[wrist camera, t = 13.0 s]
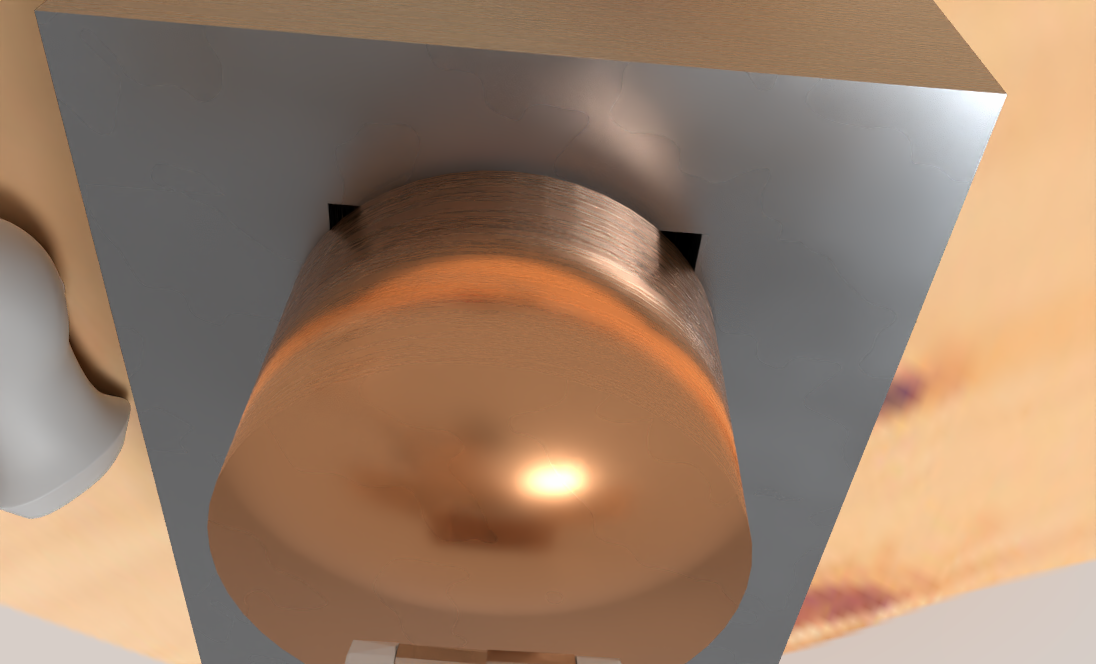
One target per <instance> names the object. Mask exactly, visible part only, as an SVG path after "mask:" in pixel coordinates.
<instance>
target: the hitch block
mask: <svg viewBox="0 0 1096 664" xmlns="http://www.w3.org/2000/svg"><path fill="white" fill-rule="evenodd" d="M34 11H35V15H36V19H37V23H38V27H39V31H40V34H41V38H42V42H43V46H44V50H45V54H46V58H47V62H48V66H49V70H50V73H51V77H52V81H53V85H54V89H55V93H56V97H57V101H58V105H59V109H60V112H61V116H62V120H63V124H64V128H65V132H66V136H67V140H68V144H69V148H70V152H71V155H72V159H73V163H74V167H75V171H76V175H77V179H78V183H79V187H80V191H81V194H82V198H83V202H84V206H85V210H86V214H87V218H88V222H89V226H90V230H91V233H92V237H93V241H94V245H95V249H96V253H97V257H98V261H99V265H100V269H101V273H102V276H103V280H104V284H105V288H106V292H107V296H108V300H109V304H110V308H111V312H112V315H113V319H114V323H115V327H116V331H117V335H118V339H119V343H120V347H121V351H122V354H123V358H124V362H125V366H126V370H127V374H128V378H129V382H130V386H131V390H132V393H133V397H134V401H135V405H136V409H137V413H138V417H139V421H140V425H141V429H142V433H143V436H144V440H145V444H146V448H147V452H148V456H149V460H150V464H151V468H152V472H153V475H154V479H155V483H156V487H157V491H158V495H159V499H160V503H161V507H162V511H163V514H164V518H165V522H166V526H167V530H168V534H169V538H170V542H171V546H172V550H173V553H174V557H175V561H176V565H177V569H178V573H179V577H180V581H181V585H182V589H183V593H184V596H185V600H186V604H187V608H188V612H189V616H190V620H191V624H192V628H193V632H194V635H195V639H196V643H197V647H198V651H199V655H200V659H201V663H202V664H305V663H303V662H301V661H300V660H298V659H297V658H295V657H294V656H292V655H291V654H289V653H288V652H286V651H285V650H283V649H282V648H280V647H279V646H278V645H277V644H275V643H274V642H273V641H272V640H270V639H269V638H268V637H267V636H265V635H264V634H263V633H262V632H261V631H260V630H259V629H258V628H257V627H256V626H255V625H254V624H253V623H252V622H251V621H250V620H249V619H248V618H247V617H246V616H245V615H244V614H243V613H242V611H241V610H240V609H239V607H238V606H237V605H236V603H235V602H234V601H233V599H232V598H231V597H230V595H229V594H228V592H227V590H226V588H225V587H224V585H223V583H222V581H221V579H220V577H219V575H218V573H217V571H216V568H215V565H214V561H213V558H212V555H211V552H210V547H209V538H208V530H207V524H208V513H209V504H210V500H211V497H212V494H213V491H214V488H215V484H216V481H217V479H218V476H219V474H220V471H221V469H222V466H223V463H224V461H225V458H226V456H227V453H228V451H229V448H230V446H231V443H232V441H233V438H234V436H235V433H236V431H237V428H238V425H239V423H240V420H241V418H242V415H243V413H244V410H245V408H246V405H247V403H248V400H249V398H250V395H251V393H252V390H253V387H254V385H255V382H256V380H257V377H258V375H259V372H260V370H261V367H262V365H263V362H264V360H265V357H266V354H267V352H268V349H269V347H270V344H271V342H272V339H273V337H274V334H275V332H276V329H277V327H278V324H279V322H280V319H281V316H282V314H283V311H284V309H285V306H286V304H287V301H288V299H289V296H290V294H291V291H292V289H293V286H294V284H295V281H296V278H297V276H298V274H299V272H300V271H301V269H302V267H303V265H304V263H305V261H306V259H307V257H308V256H309V254H310V253H311V252H312V251H313V249H314V248H315V247H316V245H317V244H318V243H319V241H320V240H321V239H322V238H323V236H324V235H325V234H326V233H328V232H329V231H330V230H331V229H332V228H333V227H334V226H335V225H336V224H337V223H338V222H339V221H340V220H341V219H342V218H344V217H345V216H347V215H348V214H350V213H351V212H352V211H354V210H355V209H357V208H358V207H360V206H361V205H362V204H364V203H366V202H368V201H370V200H372V199H373V198H375V197H377V196H379V195H381V194H383V193H385V192H387V191H389V190H392V189H394V188H397V187H400V186H403V185H406V184H409V183H412V182H414V181H417V180H421V179H426V178H430V177H435V176H440V175H444V174H449V173H459V172H470V171H515V172H522V173H529V174H536V175H543V176H548V177H552V178H556V179H559V180H563V181H567V182H571V183H575V184H578V185H580V186H583V187H585V188H588V189H590V190H593V191H596V192H598V193H601V194H603V195H606V196H607V197H609V198H611V199H613V200H615V201H617V202H618V203H620V204H622V205H624V206H626V207H628V208H630V209H631V210H633V211H634V212H636V213H637V214H638V215H640V216H641V217H643V218H644V219H645V220H647V221H648V222H649V223H651V224H652V225H654V226H655V227H656V228H657V229H658V230H659V231H660V232H661V233H662V234H663V235H665V236H666V237H667V238H668V239H669V240H670V241H671V242H672V243H673V244H674V245H675V246H676V247H677V249H678V250H679V251H680V252H681V254H682V255H683V256H684V258H685V259H686V260H687V261H688V263H689V264H690V265H691V267H692V268H693V270H694V272H695V274H696V275H697V277H698V279H699V281H700V282H701V284H702V286H703V288H704V291H705V293H706V296H707V299H708V301H709V304H710V307H711V310H712V315H713V320H714V325H715V331H716V336H717V342H718V348H719V354H720V360H721V365H722V371H723V377H724V383H725V389H726V394H727V400H728V406H729V412H730V418H731V424H732V429H733V435H734V441H735V447H736V453H737V458H738V464H739V470H740V476H741V482H742V488H743V493H744V499H745V505H746V511H747V517H748V523H749V528H750V534H751V540H752V567H751V572H750V576H749V580H748V585H747V589H746V591H745V593H744V595H743V598H742V600H741V602H740V604H739V607H738V609H737V610H736V612H735V613H734V615H733V616H732V618H731V619H730V621H729V622H728V624H727V625H726V627H725V628H724V629H723V630H722V631H721V632H720V634H719V635H718V636H717V637H716V638H715V639H714V640H713V641H712V642H711V643H710V644H709V645H708V646H707V647H706V648H705V649H703V650H702V651H701V652H700V653H698V654H697V655H696V656H695V657H693V658H692V659H691V660H690V661H688V662H687V663H685V664H779V661H780V659H781V656H782V654H783V651H784V649H785V646H786V644H787V641H788V639H789V636H790V634H791V631H792V629H793V626H794V624H795V621H796V619H797V616H798V614H799V611H800V609H801V607H802V604H803V602H804V599H805V597H806V594H807V592H808V589H809V587H810V584H811V582H812V579H813V577H814V574H815V572H816V569H817V567H818V564H819V562H820V559H821V557H822V554H823V552H824V549H825V547H826V544H827V542H828V539H829V537H830V534H831V532H832V529H833V527H834V524H835V522H836V519H837V517H838V514H839V512H840V509H841V507H842V504H843V502H844V499H845V497H846V494H847V492H848V489H849V487H850V484H851V482H852V479H853V477H854V474H855V472H856V469H857V467H858V465H859V462H860V460H861V457H862V455H863V452H864V450H865V447H866V445H867V442H868V440H869V437H870V435H871V432H872V430H873V427H874V425H875V422H876V420H877V417H878V415H879V412H880V410H881V407H882V405H883V402H884V400H885V397H886V395H887V392H888V390H889V387H890V385H891V382H892V380H893V377H894V375H895V372H896V370H897V367H898V365H899V362H900V360H901V357H902V355H903V352H904V350H905V347H906V345H907V342H908V340H909V337H910V335H911V332H912V330H913V327H914V325H915V323H916V320H917V318H918V315H919V313H920V310H921V308H922V305H923V303H924V300H925V298H926V295H927V293H928V290H929V288H930V285H931V283H932V280H933V278H934V275H935V273H936V270H937V268H938V265H939V263H940V260H941V258H942V255H943V253H944V250H945V248H946V245H947V243H948V240H949V238H950V235H951V233H952V230H953V228H954V225H955V223H956V220H957V218H958V215H959V213H960V210H961V208H962V205H963V203H964V200H965V198H966V195H967V193H968V190H969V188H970V186H971V183H972V181H973V178H974V176H975V173H976V171H977V168H978V166H979V163H980V161H981V158H982V156H983V153H984V151H985V148H986V146H987V143H988V141H989V138H990V136H991V133H992V131H993V128H994V126H995V123H996V121H997V118H998V116H999V113H1000V111H1001V108H1002V106H1003V103H1004V101H1005V98H1006V96H1007V94H1006V92H1005V91H1004V90H1003V88H1002V87H1001V86H1000V85H999V83H998V82H997V81H996V80H995V78H994V77H993V76H992V74H991V73H990V72H989V71H988V69H987V68H986V67H985V66H984V64H983V63H982V62H981V60H980V59H979V58H978V57H977V55H976V54H975V53H974V52H973V50H972V49H971V48H970V47H969V45H968V44H967V43H966V41H965V40H964V39H963V38H962V36H961V35H960V34H959V33H958V31H957V30H956V29H955V27H954V26H953V25H952V24H951V22H950V21H949V20H948V19H947V17H946V16H945V15H944V13H943V12H942V11H941V10H940V8H939V7H938V6H937V5H936V3H935V2H934V1H933V0H46V1H45V2H44V3H43V4H41V5H40V6H39V7H38V8H37V9H35V10H34Z"/></svg>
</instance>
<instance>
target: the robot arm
mask: <svg viewBox="0 0 1096 664" xmlns="http://www.w3.org/2000/svg"><path fill="white" fill-rule="evenodd" d="M345 664H621V661H620V658H607V657H591V656H576V657H575V655H574V654H558V653H540V652H522V651H504V650H478V649H464V648H451V647H438V646H424V645H411V644H400V643H397V642H381V641H365V640H353V641H352V644H351V646H350V648H349V651H348V653H347V656H346V660H345Z"/></svg>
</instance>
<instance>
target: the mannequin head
mask: <svg viewBox="0 0 1096 664" xmlns="http://www.w3.org/2000/svg"><path fill="white" fill-rule="evenodd" d="M64 293H65V287H64V283H63V281H62V279H61V278H60V276H59V274H58V271H57V269H56V267H55V265H54V263H53V261H52V260H51V258H50V256H49V255H48V253H47V252H46V251H45V250H44V248H43V247H42V246H41V245H40V244H39V243H38V242H37V241H36V240H35V239H34V238H33V237H32V236H31V235H29V234H28V233H27V232H25V231H24V230H22V229H21V228H19V227H18V226H16V225H14V224H12V223H10V222H8V221H6V220H4V219H1V218H0V510H3V511H6V512H9V513H13V514H16V515H19V516H22V517H25V518H29V519H34V518H39V517H43V516H45V515H48V514H50V513H52V512H54V511H56V510H58V509H60V508H61V507H63V506H64V505H66V504H67V503H69V502H70V501H72V500H73V499H75V498H76V497H78V496H79V495H80V494H82V493H83V492H85V491H86V490H87V489H89V488H90V487H91V486H92V485H93V484H95V483H96V482H97V481H98V480H99V479H100V478H101V477H102V476H103V475H104V474H105V473H106V472H107V471H108V470H109V468H110V467H111V466H112V464H113V463H114V461H115V460H116V458H117V456H118V454H119V453H120V451H121V449H122V446H123V444H124V439H125V435H126V430H127V426H128V421H129V416H130V411H131V407H130V404H129V402H128V401H127V400H126V399H124V398H121V397H116V396H111V395H106V394H103V393H101V392H99V391H98V390H97V389H95V388H94V386H93V385H92V384H91V383H90V382H89V380H88V379H87V377H86V376H85V374H84V372H83V371H82V369H81V367H80V365H79V363H78V361H77V359H76V357H75V355H74V353H73V351H72V349H71V346H70V344H69V319H68V310H67V304H66V298H65V294H64Z"/></svg>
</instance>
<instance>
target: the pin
mask: <svg viewBox="0 0 1096 664" xmlns="http://www.w3.org/2000/svg"><path fill="white" fill-rule="evenodd" d="M207 530H208V538H209V547H210V552H211V555H212V558H213V561H214V565H215V568H216V571H217V573H218V575H219V577H220V579H221V581H222V583H223V585H224V587H225V588H226V590H227V592H228V594H229V595H230V597H231V598H232V599H233V601H234V602H235V603H236V605H237V606H238V607H239V609H240V610H241V611H242V613H243V614H244V615H245V616H246V617H247V618H248V619H249V620H250V621H251V622H252V623H253V624H254V625H255V626H256V627H257V628H258V629H259V630H260V631H261V632H262V633H263V634H264V635H265V636H267V637H268V638H269V639H270V640H272V641H273V642H274V643H275V644H277V645H278V646H279V647H280V648H282V649H283V650H285V651H286V652H288V653H289V654H291V655H292V656H294V657H295V658H297V659H298V660H300V661H301V662H303V663H305V664H345V660H346V656H347V653H348V651H349V648H350V646H351V644H352V641H353V640H365V641H381V642H397V643H400V644H411V645H424V646H438V647H451V648H464V649H478V650H504V651H522V652H540V653H558V654H574V655H575V657H576V656H591V657H607V658H620V661H621V664H685V663H687V662H688V661H690V660H691V659H692V658H693V657H695V656H696V655H697V654H698V653H700V652H701V651H702V650H703V649H705V648H706V647H707V646H708V645H709V644H710V643H711V642H712V641H713V640H714V639H715V638H716V637H717V636H718V635H719V634H720V632H721V631H722V630H723V629H724V628H725V627H726V625H727V624H728V622H729V621H730V619H731V618H732V616H733V615H734V613H735V612H736V610H737V609H738V607H739V604H740V602H741V600H742V598H743V595H744V593H745V591H746V589H747V585H748V580H749V576H750V572H751V567H752V540H751V534H750V528H749V523H748V517H747V511H746V505H745V499H744V493H743V488H742V482H741V476H740V470H739V464H738V458H737V453H736V447H735V441H734V435H733V429H732V424H731V418H730V412H729V406H728V400H727V394H726V389H725V383H724V377H723V371H722V365H721V360H720V354H719V348H718V342H717V336H716V331H715V325H714V320H713V315H712V310H711V307H710V304H709V301H708V299H707V296H706V293H705V291H704V288H703V286H702V284H701V282H700V281H699V279H698V277H697V275H696V274H695V272H694V270H693V268H692V267H691V265H690V264H689V263H688V261H687V260H686V259H685V258H684V256H683V255H682V254H681V252H680V251H679V250H678V249H677V247H676V246H675V245H674V244H673V243H672V242H671V241H670V240H669V239H668V238H667V237H666V236H665V235H663V234H662V233H661V232H660V231H659V230H658V229H657V228H656V227H655V226H654V225H652V224H651V223H649V222H648V221H647V220H645V219H644V218H643V217H641V216H640V215H638V214H637V213H636V212H634V211H633V210H631V209H630V208H628V207H626V206H624V205H622V204H620V203H618V202H617V201H615V200H613V199H611V198H609V197H607V196H606V195H603V194H601V193H598V192H596V191H593V190H590V189H588V188H585V187H583V186H580V185H578V184H575V183H571V182H567V181H563V180H559V179H556V178H552V177H548V176H543V175H536V174H529V173H522V172H515V171H470V172H459V173H449V174H444V175H440V176H435V177H430V178H426V179H421V180H417V181H414V182H412V183H409V184H406V185H403V186H400V187H397V188H394V189H392V190H389V191H387V192H385V193H383V194H381V195H379V196H377V197H375V198H373V199H372V200H370V201H368V202H366V203H364V204H362V205H361V206H360V207H358V208H357V209H355V210H354V211H352V212H351V213H350V214H348V215H347V216H345V217H344V218H342V219H341V220H340V221H339V222H338V223H337V224H336V225H335V226H334V227H333V228H332V229H331V230H330V231H329V232H328V233H326V234H325V235H324V236H323V238H322V239H321V240H320V241H319V243H318V244H317V245H316V247H315V248H314V249H313V251H312V252H311V253H310V254H309V256H308V257H307V259H306V261H305V263H304V265H303V267H302V269H301V271H300V272H299V274H298V276H297V278H296V281H295V284H294V286H293V289H292V291H291V294H290V296H289V299H288V301H287V304H286V306H285V309H284V311H283V314H282V316H281V319H280V322H279V324H278V327H277V329H276V332H275V334H274V337H273V339H272V342H271V344H270V347H269V349H268V352H267V354H266V357H265V360H264V362H263V365H262V367H261V370H260V372H259V375H258V377H257V380H256V382H255V385H254V387H253V390H252V393H251V395H250V398H249V400H248V403H247V405H246V408H245V410H244V413H243V415H242V418H241V420H240V423H239V425H238V428H237V431H236V433H235V436H234V438H233V441H232V443H231V446H230V448H229V451H228V453H227V456H226V458H225V461H224V463H223V466H222V469H221V471H220V474H219V476H218V479H217V481H216V484H215V488H214V491H213V494H212V497H211V500H210V504H209V513H208V524H207Z"/></svg>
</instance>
